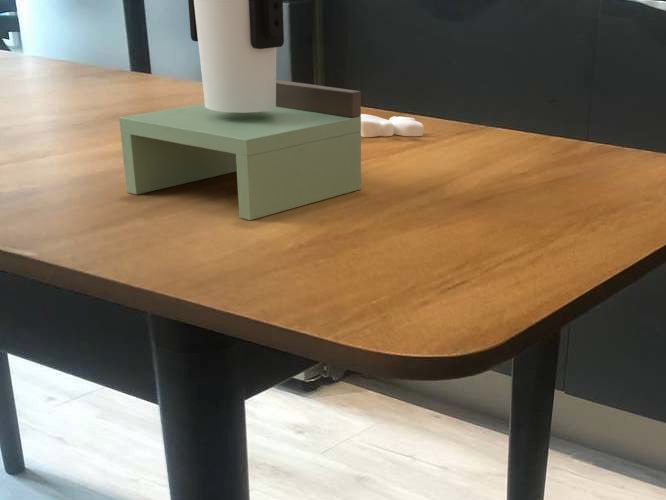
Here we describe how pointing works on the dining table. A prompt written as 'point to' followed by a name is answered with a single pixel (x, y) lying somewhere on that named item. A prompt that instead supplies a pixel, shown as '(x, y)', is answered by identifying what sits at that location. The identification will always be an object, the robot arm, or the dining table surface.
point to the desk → (253, 148)
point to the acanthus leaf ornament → (389, 126)
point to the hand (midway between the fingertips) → (237, 41)
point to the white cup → (233, 59)
